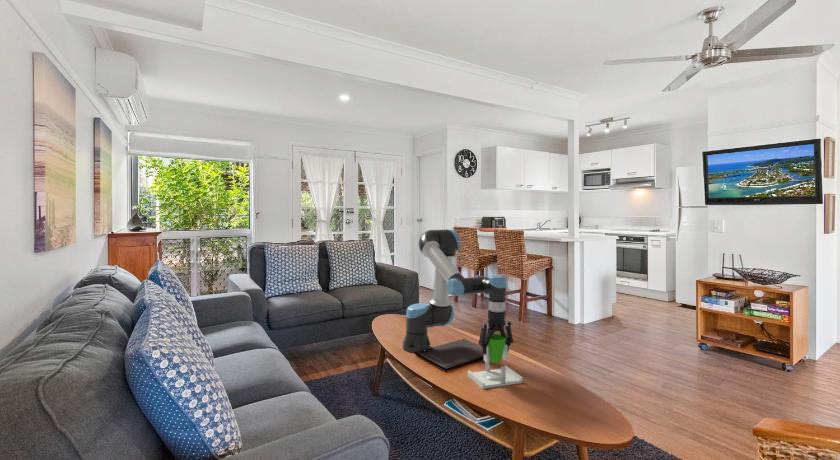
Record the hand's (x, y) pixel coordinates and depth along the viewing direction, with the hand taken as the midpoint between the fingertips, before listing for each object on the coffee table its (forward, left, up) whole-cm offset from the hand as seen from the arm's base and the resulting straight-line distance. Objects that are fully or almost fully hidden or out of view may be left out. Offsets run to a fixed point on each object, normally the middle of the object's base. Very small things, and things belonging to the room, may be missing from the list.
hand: (495, 359), depth 181 cm
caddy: (0, 0, -9) cm, 9 cm away
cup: (0, 0, -1) cm, 1 cm away
